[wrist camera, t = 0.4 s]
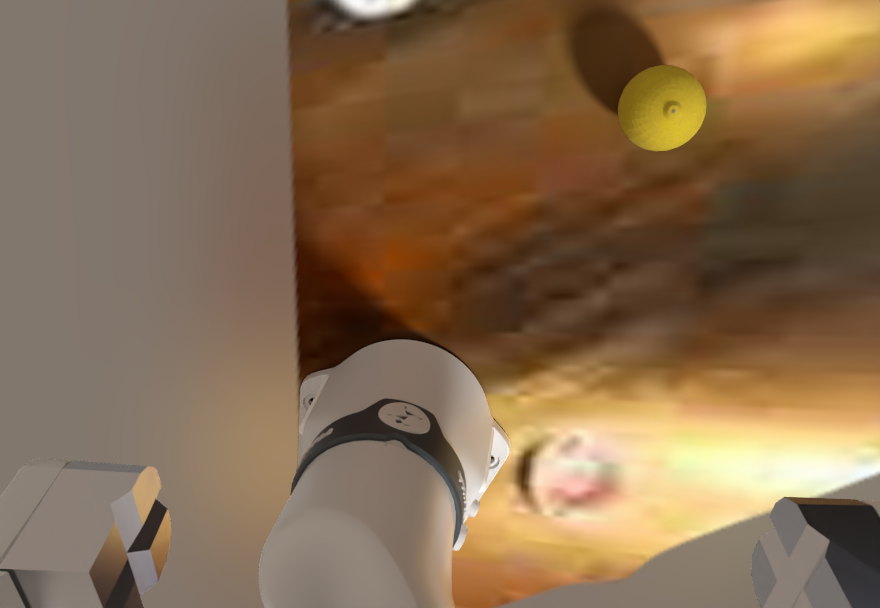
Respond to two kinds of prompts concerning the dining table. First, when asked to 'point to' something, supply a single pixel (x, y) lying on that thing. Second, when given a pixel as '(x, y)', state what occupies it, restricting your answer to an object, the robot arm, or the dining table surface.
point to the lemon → (662, 108)
